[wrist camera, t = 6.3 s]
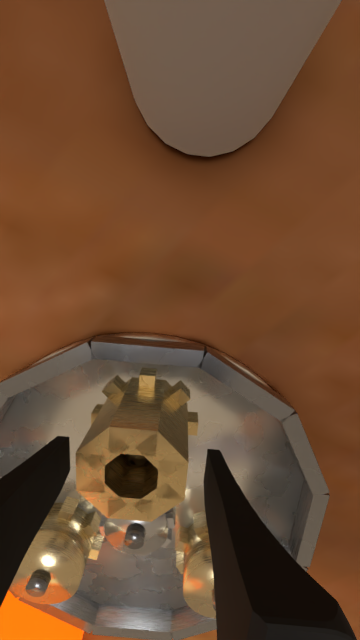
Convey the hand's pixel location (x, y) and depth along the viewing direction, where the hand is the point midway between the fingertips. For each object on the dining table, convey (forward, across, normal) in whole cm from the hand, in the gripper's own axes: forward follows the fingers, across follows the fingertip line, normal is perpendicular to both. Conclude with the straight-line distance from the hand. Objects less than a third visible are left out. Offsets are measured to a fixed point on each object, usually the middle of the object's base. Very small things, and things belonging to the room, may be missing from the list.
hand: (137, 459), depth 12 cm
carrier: (+4, 0, +6) cm, 8 cm away
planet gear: (+3, 0, 0) cm, 3 cm away
